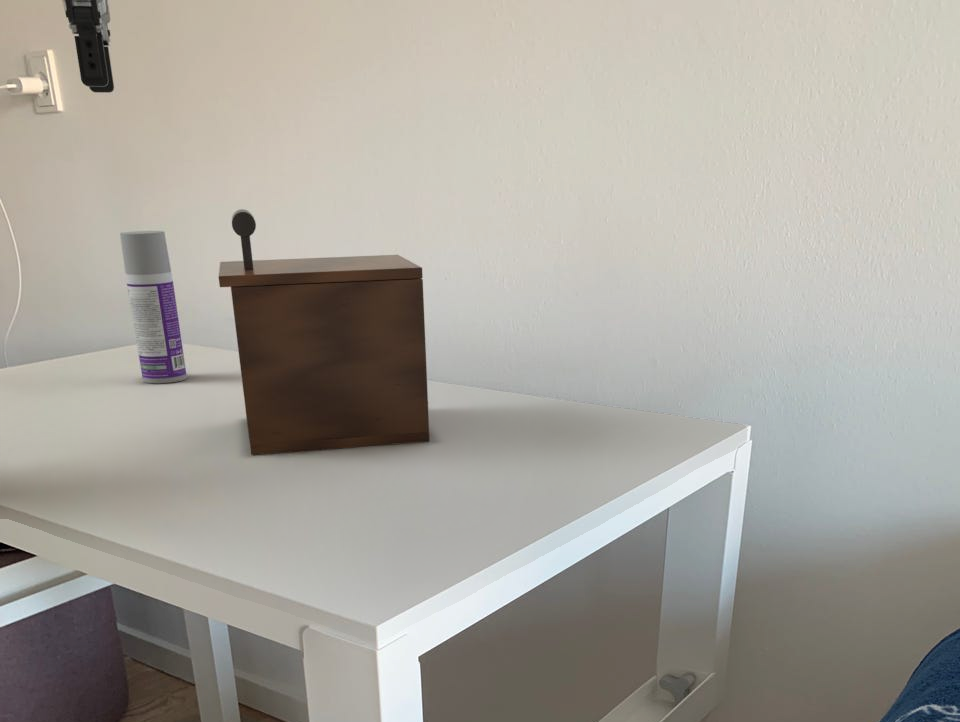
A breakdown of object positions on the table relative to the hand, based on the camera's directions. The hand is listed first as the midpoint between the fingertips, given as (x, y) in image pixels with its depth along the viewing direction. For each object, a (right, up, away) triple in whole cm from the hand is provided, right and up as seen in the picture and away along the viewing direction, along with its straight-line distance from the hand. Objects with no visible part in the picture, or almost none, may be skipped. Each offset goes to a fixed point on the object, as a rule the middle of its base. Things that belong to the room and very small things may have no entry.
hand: (99, 89), depth 90 cm
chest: (+22, -31, -3) cm, 38 cm away
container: (0, -21, +20) cm, 29 cm away
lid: (+21, -20, -9) cm, 30 cm away
